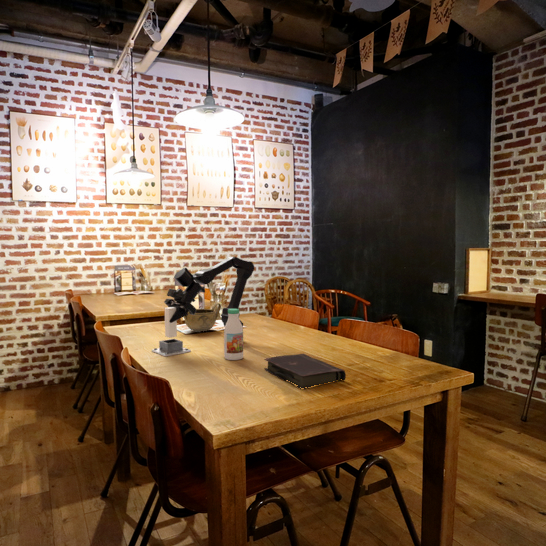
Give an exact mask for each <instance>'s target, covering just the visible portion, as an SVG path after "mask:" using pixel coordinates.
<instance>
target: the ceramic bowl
mask: <svg viewBox="0 0 546 546" xmlns="http://www.w3.org/2000/svg"><path fill="white" fill-rule="evenodd" d="M211 306H212V307H211V309H210V308H196V313H195V314H194V315H191V314H190V311H189V312H188V313H187V314H188V315H186V316H184V317H183V319H184V323H185V325H186V327H187V328H188V329H189V330H191V331H192V330H193V331H192V332H195V331H203V332H202V333H205V332H204V331H206V332H208V331H210V330H212V328H214V326H215V324H216V321H217V319H218V316H219V314H220V310H221V309H222V304H221V303H220V302H214V304H213V305H211ZM216 307H217V309H216ZM209 329H210V330H209ZM207 330H208V331H207Z"/></svg>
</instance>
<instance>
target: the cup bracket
mask: <svg viewBox="0 0 546 546" xmlns="http://www.w3.org/2000/svg"><path fill="white" fill-rule="evenodd" d="M158 344H159V348H158V347H157V348H155V347H154V348H153V349H151V352H153V353H155V354H157V355H160V356H163V357H170V356H175V355H180V354H182V355H183V354H186V353H191V349H189V348H187V347H184V343H183V341H182V340H180V339H177V338H168V339H164V340H159V343H158Z"/></svg>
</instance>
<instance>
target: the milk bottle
mask: <svg viewBox="0 0 546 546" xmlns="http://www.w3.org/2000/svg"><path fill="white" fill-rule="evenodd" d="M239 313H240V309H228V320H227V323H226V325H225V326H224V331H223V343H224V344H223V352H224V353H223V355H224V359H225V360H229V361H238V360H241V359H244V328H243V327H244V326H243V327H242V324H241V322H240V320H241V319H240V315H239ZM239 319H240V320H239Z"/></svg>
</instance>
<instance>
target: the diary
mask: <svg viewBox="0 0 546 546" xmlns="http://www.w3.org/2000/svg"><path fill="white" fill-rule="evenodd" d="M264 361H265V362H267V368H266V367H264V371H266V372H267V371H268V372H267V373H269V374H271V375H273V376H275V377H276V378H279V379H281V380H282V379H283V380H282V381H284V382H286V380H288V381H290V382H292V383H294V384H296V385H298V386H297V387H298V388H297V387H296V388H297V389H299V388H300V387H301V388H304V389H303V390H307V389H306V388H305V387H307V388H308V387H311V386H314V385H319V384H323V385H325V384H324V383H328V382H333V381H335V382H337V381H336V380H339V381H341V380H340V379H342V380H345V381H346V378H347V377H346V375H347V374H346V371H345V370H344V369H342V368H340V367H338V366H337V367H336V366H334V365H331V364H329V363H327V362H325V361H323V360H319V359H317V358H315V357H312V356H310V355H307V354H305V353H299V354H288V355H287V354H286V355H277V356H272V357H267V358H264ZM333 383H334V382H333ZM328 384H329V383H328ZM301 388H300V389H299V390H301ZM308 389H309V388H308Z"/></svg>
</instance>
